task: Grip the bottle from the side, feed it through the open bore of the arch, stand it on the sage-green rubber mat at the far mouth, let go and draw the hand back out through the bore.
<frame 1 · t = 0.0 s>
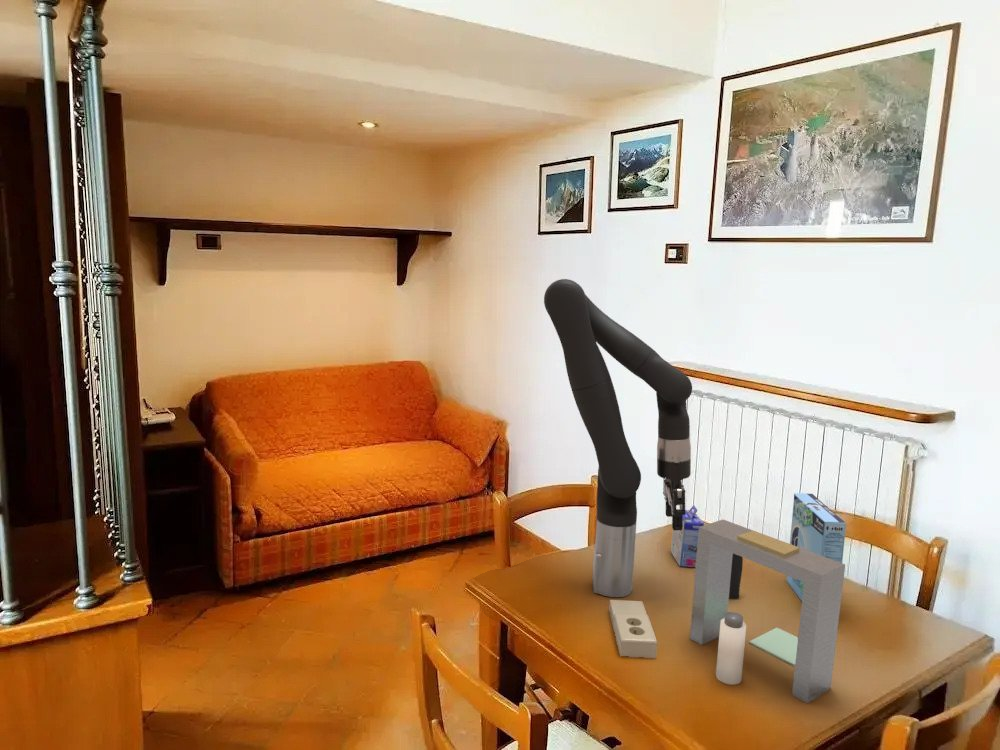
hand: (673, 522, 164), 17 cm above the table, tool pointing down, fingers open, 8 cm apart
arch: (756, 662, 138), on the table
black rounded block: (722, 595, 166), on the table
mat: (784, 646, 144), on the table
gum box: (809, 600, 165), on the table
ink cartridge box: (685, 560, 185), on the table
bottle: (728, 677, 133), on the table
electrical outlet: (631, 635, 148), on the table
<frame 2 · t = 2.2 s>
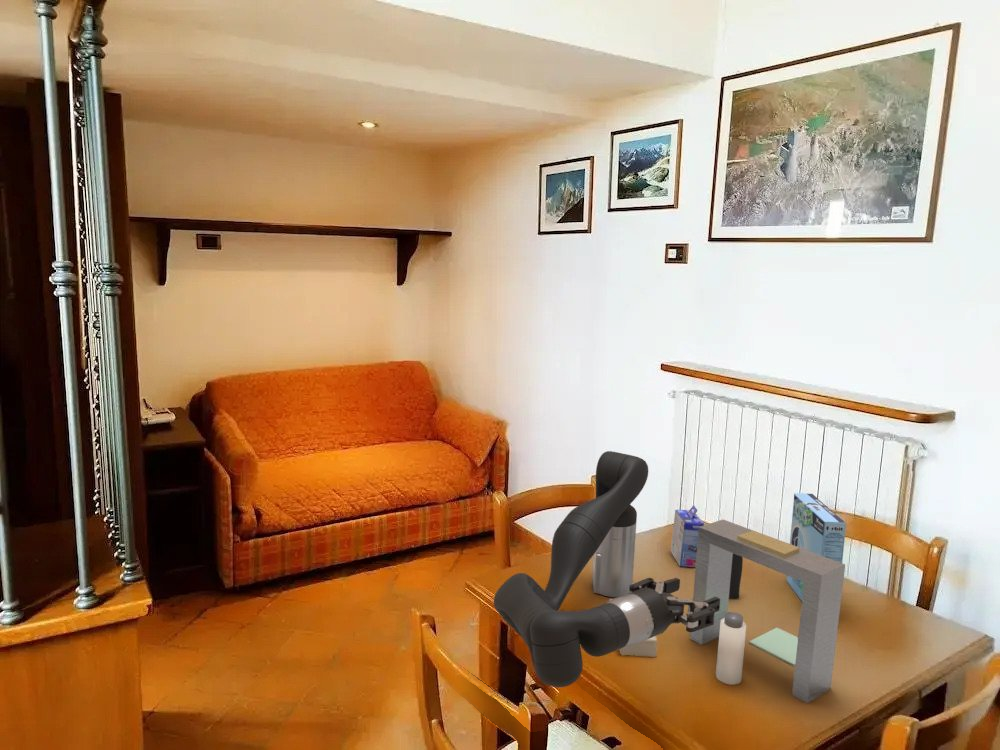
hand: (697, 592, 123), 20 cm above the table, tool horizontal, fingers open, 8 cm apart
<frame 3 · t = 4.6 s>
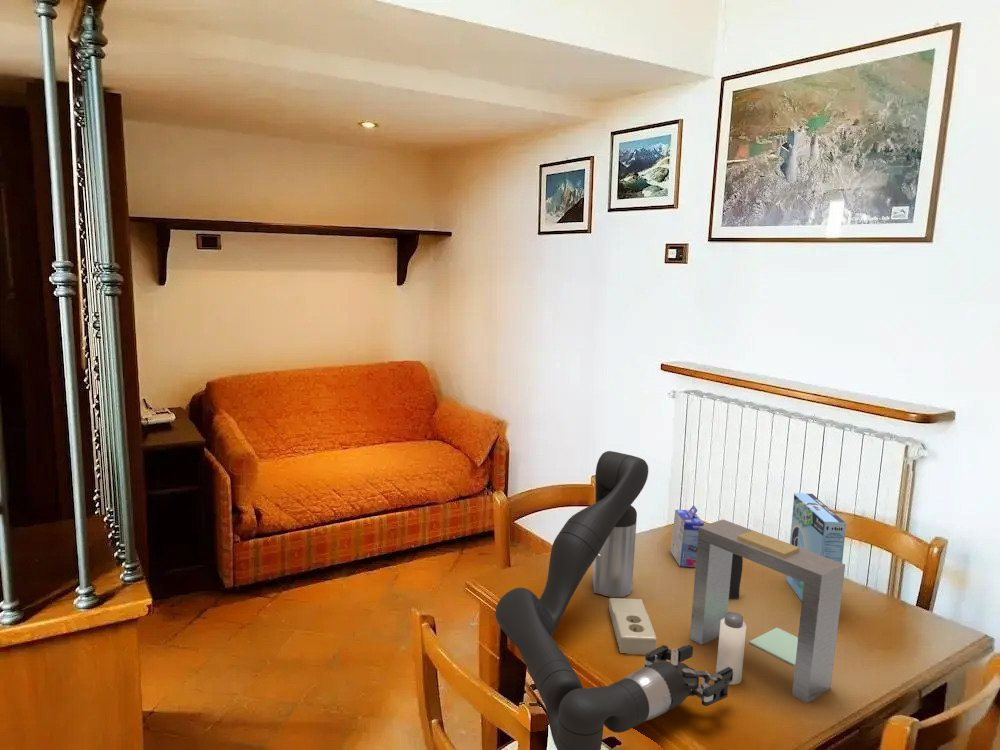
hand: (710, 661, 128), 6 cm above the table, tool horizontal, fingers open, 8 cm apart
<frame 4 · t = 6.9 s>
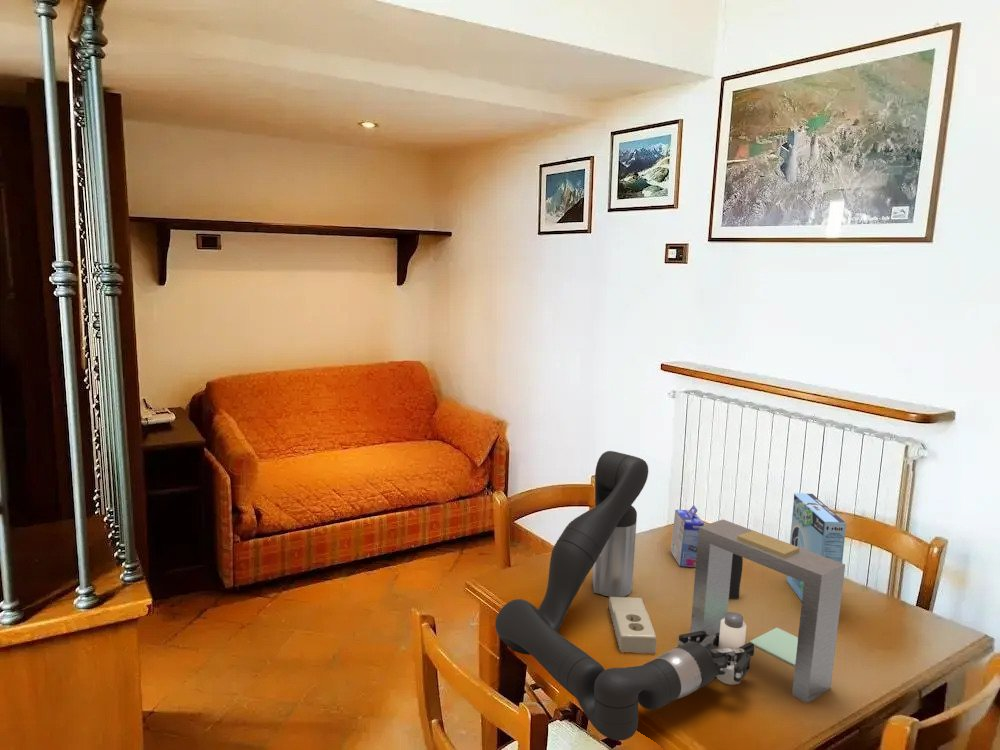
hand: (740, 641, 133), 7 cm above the table, tool horizontal, fingers closed on bottle, 4 cm apart
bottle: (728, 677, 133), on the table, touching gripper
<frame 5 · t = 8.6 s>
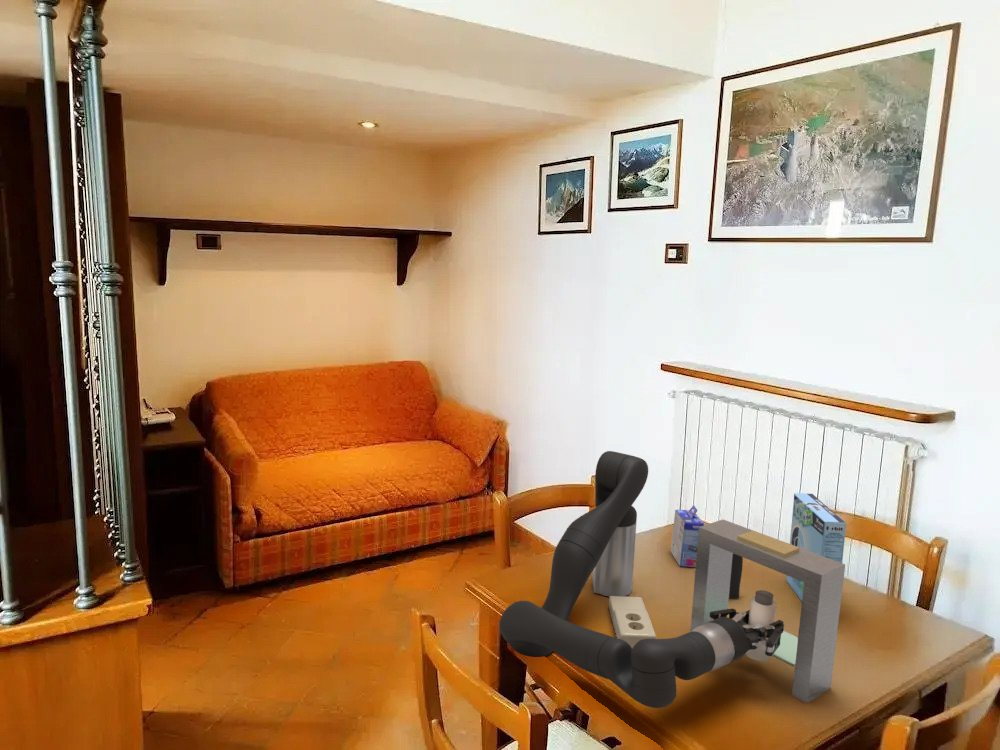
hand: (769, 619, 136), 9 cm above the table, tool horizontal, fingers closed on bottle, 4 cm apart
bottle: (757, 654, 136), point 3 cm above the table, touching gripper
when the fingers open (8 cm above the table, at t = 10.8 s): bottle stays where it is, resting on mat.
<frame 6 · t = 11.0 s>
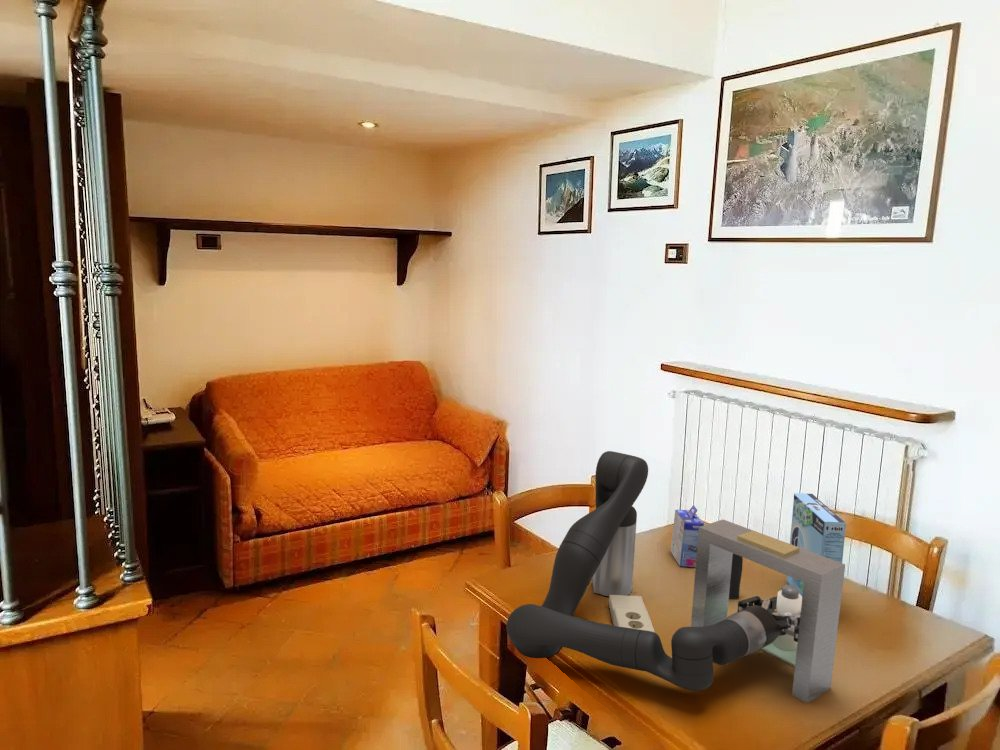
hand: (795, 607, 144), 8 cm above the table, tool horizontal, fingers open, 6 cm apart
bottle: (785, 644, 144), resting on mat
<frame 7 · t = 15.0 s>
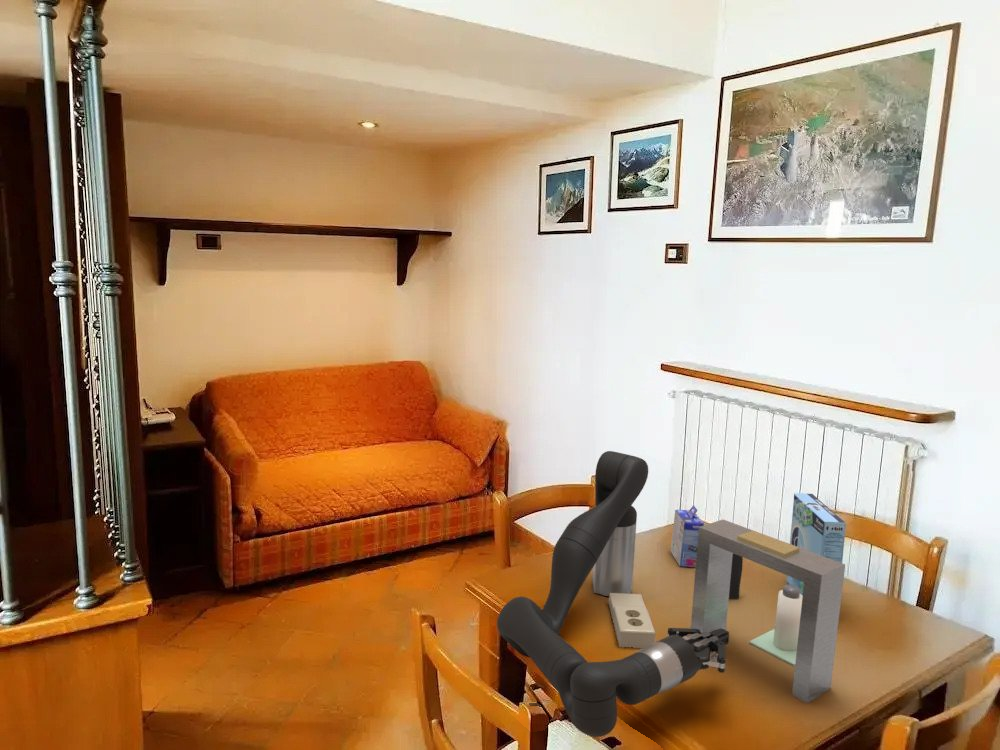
hand: (725, 634, 130), 9 cm above the table, tool horizontal, fingers closed
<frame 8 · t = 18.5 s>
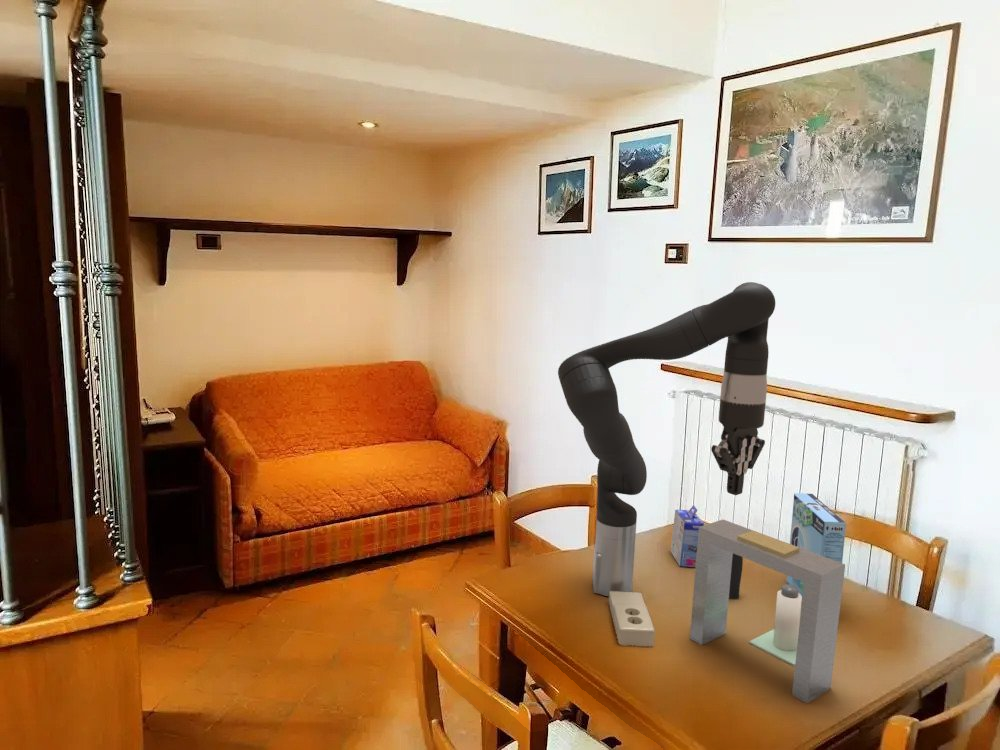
hand: (734, 493, 125), 37 cm above the table, tool pointing down, fingers closed
at the end: bottle inside the target area on the mat (0.1 cm from its centre), point 0.4 cm above the mat's base; bottle tilted 1°; the gripper is holding nothing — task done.
